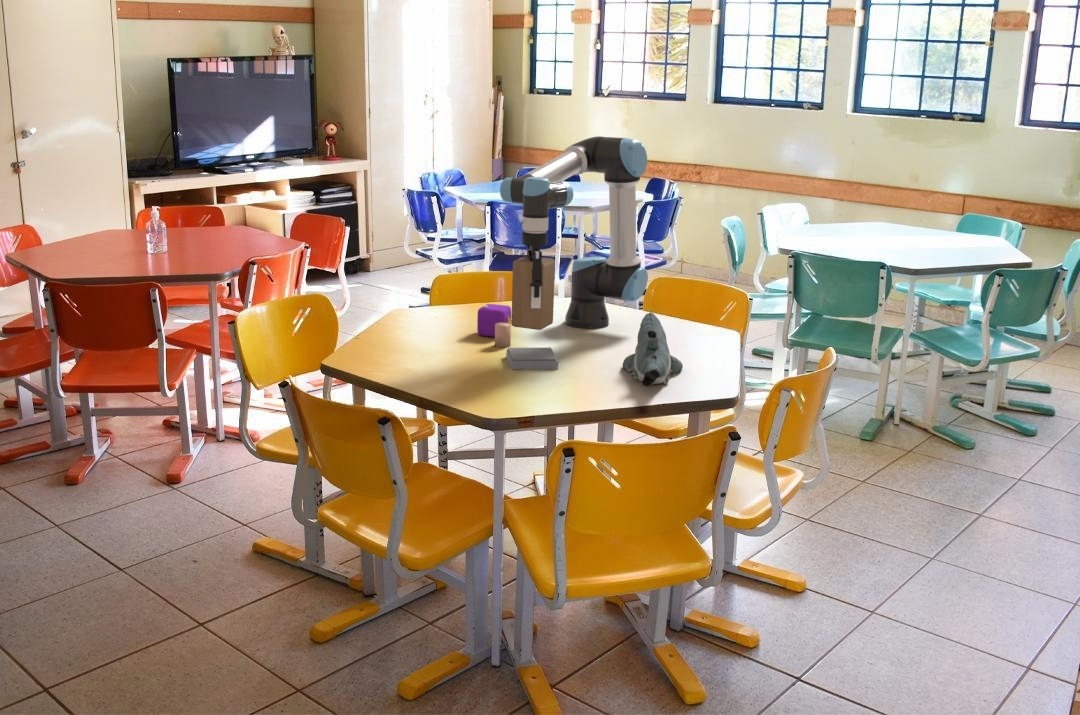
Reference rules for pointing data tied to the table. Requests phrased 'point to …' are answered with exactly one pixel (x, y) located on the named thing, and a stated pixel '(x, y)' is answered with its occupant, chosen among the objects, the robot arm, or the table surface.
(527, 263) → the wooden block
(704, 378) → the table surface
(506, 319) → the toy camera
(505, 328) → the peach rounded capsule part
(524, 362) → the stand
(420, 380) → the table surface
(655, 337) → the shark plush
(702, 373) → the table surface
